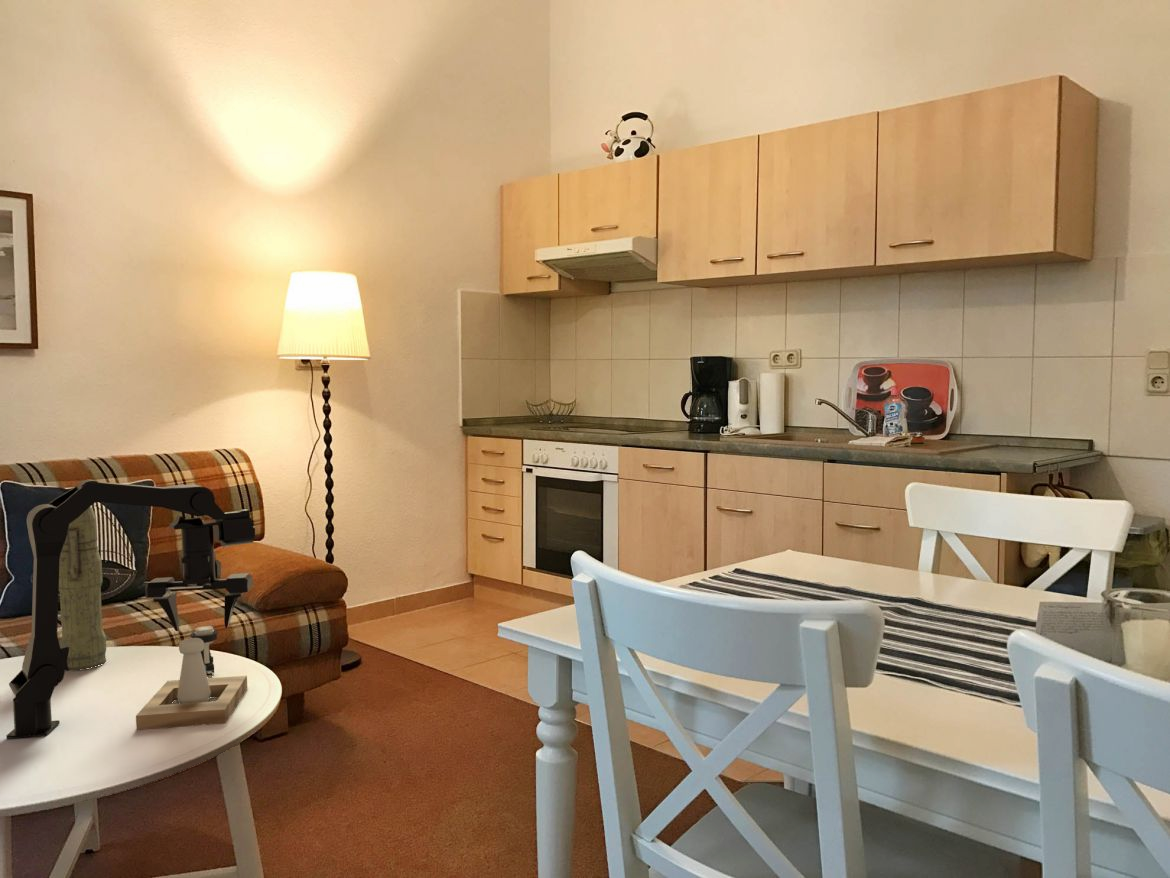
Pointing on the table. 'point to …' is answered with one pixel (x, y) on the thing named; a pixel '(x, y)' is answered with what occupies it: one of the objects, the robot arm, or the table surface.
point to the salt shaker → (193, 673)
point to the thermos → (82, 594)
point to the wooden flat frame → (192, 705)
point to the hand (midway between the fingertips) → (202, 629)
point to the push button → (206, 646)
